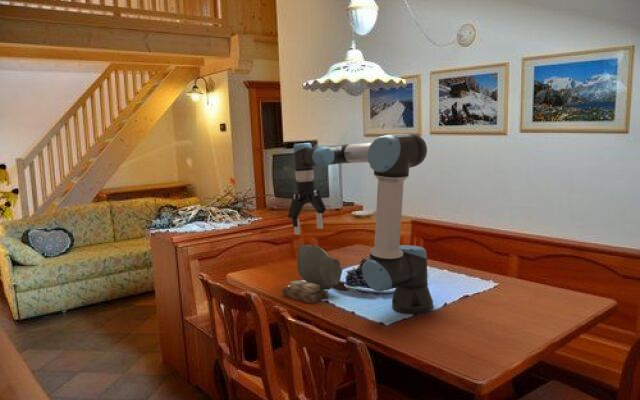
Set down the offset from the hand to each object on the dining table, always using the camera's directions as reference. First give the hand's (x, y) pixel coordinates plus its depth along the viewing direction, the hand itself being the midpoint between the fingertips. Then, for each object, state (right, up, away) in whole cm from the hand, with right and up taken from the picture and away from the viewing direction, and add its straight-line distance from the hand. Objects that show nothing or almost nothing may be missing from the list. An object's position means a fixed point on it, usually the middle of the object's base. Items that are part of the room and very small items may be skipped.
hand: (309, 231), depth 202 cm
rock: (+5, -26, +4) cm, 27 cm away
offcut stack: (-2, -27, -2) cm, 27 cm away
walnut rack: (+3, -26, +2) cm, 26 cm away
